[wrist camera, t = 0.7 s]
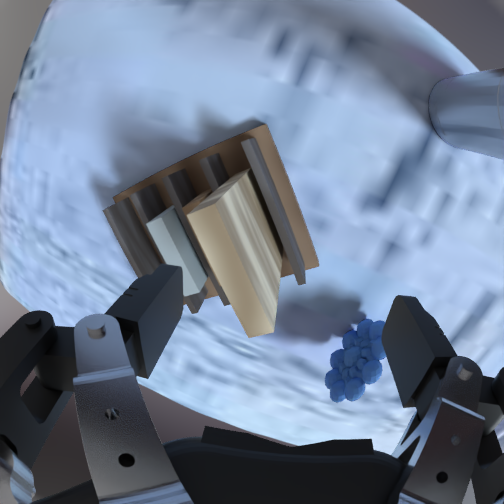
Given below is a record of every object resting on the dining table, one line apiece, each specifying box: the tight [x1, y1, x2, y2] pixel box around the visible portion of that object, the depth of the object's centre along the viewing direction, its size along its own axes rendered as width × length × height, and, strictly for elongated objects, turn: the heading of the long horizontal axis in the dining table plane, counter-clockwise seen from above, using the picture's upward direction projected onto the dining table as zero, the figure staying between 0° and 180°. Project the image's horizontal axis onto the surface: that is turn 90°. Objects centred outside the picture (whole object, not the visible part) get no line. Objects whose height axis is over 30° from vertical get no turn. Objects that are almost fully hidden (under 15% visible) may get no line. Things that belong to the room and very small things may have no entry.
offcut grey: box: [146, 205, 209, 296], centre depth 33 cm, size 2×9×7 cm, turn 22°
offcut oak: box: [182, 189, 221, 286], centre depth 32 cm, size 2×9×7 cm, turn 23°
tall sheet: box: [187, 168, 284, 338], centre depth 26 cm, size 2×10×16 cm, turn 23°
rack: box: [103, 124, 319, 314], centre depth 34 cm, size 22×18×6 cm
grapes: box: [325, 319, 386, 402], centre depth 35 cm, size 12×7×12 cm, turn 145°
